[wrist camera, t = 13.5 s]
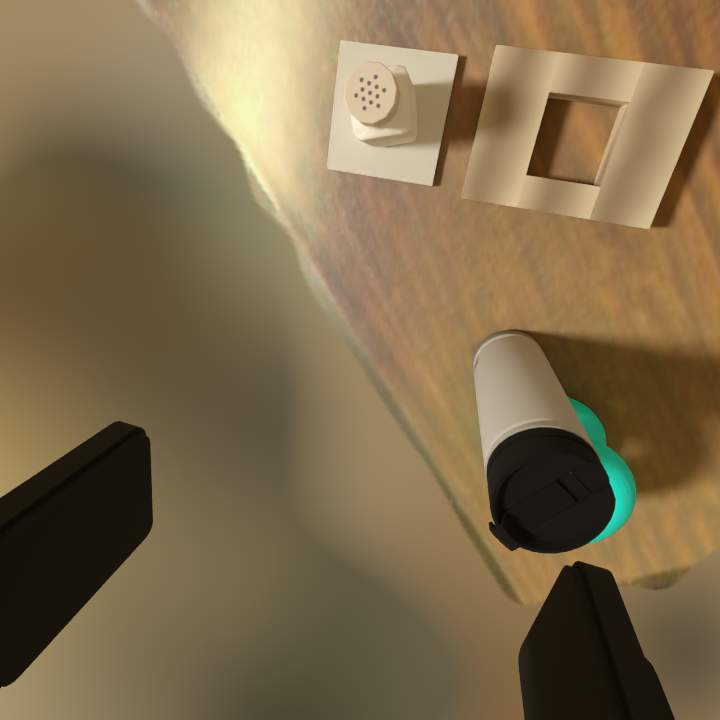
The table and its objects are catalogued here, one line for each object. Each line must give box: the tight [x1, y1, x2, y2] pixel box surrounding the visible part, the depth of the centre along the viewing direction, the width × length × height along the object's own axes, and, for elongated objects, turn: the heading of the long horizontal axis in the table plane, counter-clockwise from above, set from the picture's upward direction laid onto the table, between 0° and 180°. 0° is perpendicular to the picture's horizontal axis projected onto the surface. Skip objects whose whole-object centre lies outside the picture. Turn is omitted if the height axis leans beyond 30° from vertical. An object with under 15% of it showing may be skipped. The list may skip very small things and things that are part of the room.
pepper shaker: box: [344, 61, 418, 148], centre depth 29 cm, size 4×4×10 cm
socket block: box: [461, 45, 714, 229], centre depth 31 cm, size 14×10×2 cm
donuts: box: [568, 397, 636, 544], centre depth 37 cm, size 10×10×10 cm
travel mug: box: [473, 330, 616, 553], centre depth 30 cm, size 6×7×20 cm
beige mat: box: [327, 40, 459, 186], centre depth 34 cm, size 9×9×1 cm
